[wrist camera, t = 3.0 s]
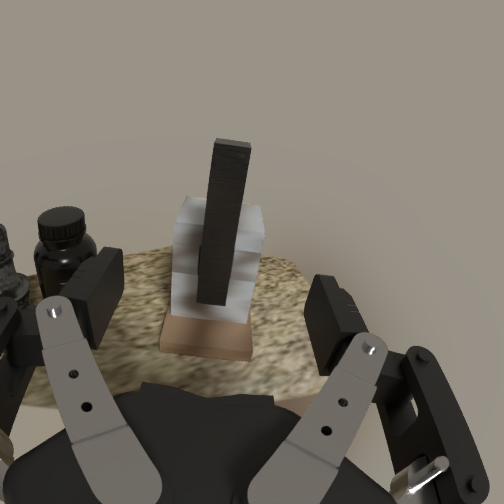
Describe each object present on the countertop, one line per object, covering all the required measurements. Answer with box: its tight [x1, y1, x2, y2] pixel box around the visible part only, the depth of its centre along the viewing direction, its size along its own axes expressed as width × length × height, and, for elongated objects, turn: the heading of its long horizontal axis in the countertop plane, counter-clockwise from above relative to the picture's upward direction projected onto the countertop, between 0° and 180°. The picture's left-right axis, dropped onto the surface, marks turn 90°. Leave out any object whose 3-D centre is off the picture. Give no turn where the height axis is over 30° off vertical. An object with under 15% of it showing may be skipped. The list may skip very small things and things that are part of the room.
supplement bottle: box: [34, 206, 97, 300], centre depth 27 cm, size 7×7×12 cm
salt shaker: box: [0, 224, 35, 309], centre depth 24 cm, size 6×6×12 cm
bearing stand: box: [159, 196, 265, 361], centre depth 32 cm, size 9×16×12 cm, turn 3°
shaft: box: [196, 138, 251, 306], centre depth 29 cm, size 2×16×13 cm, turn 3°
